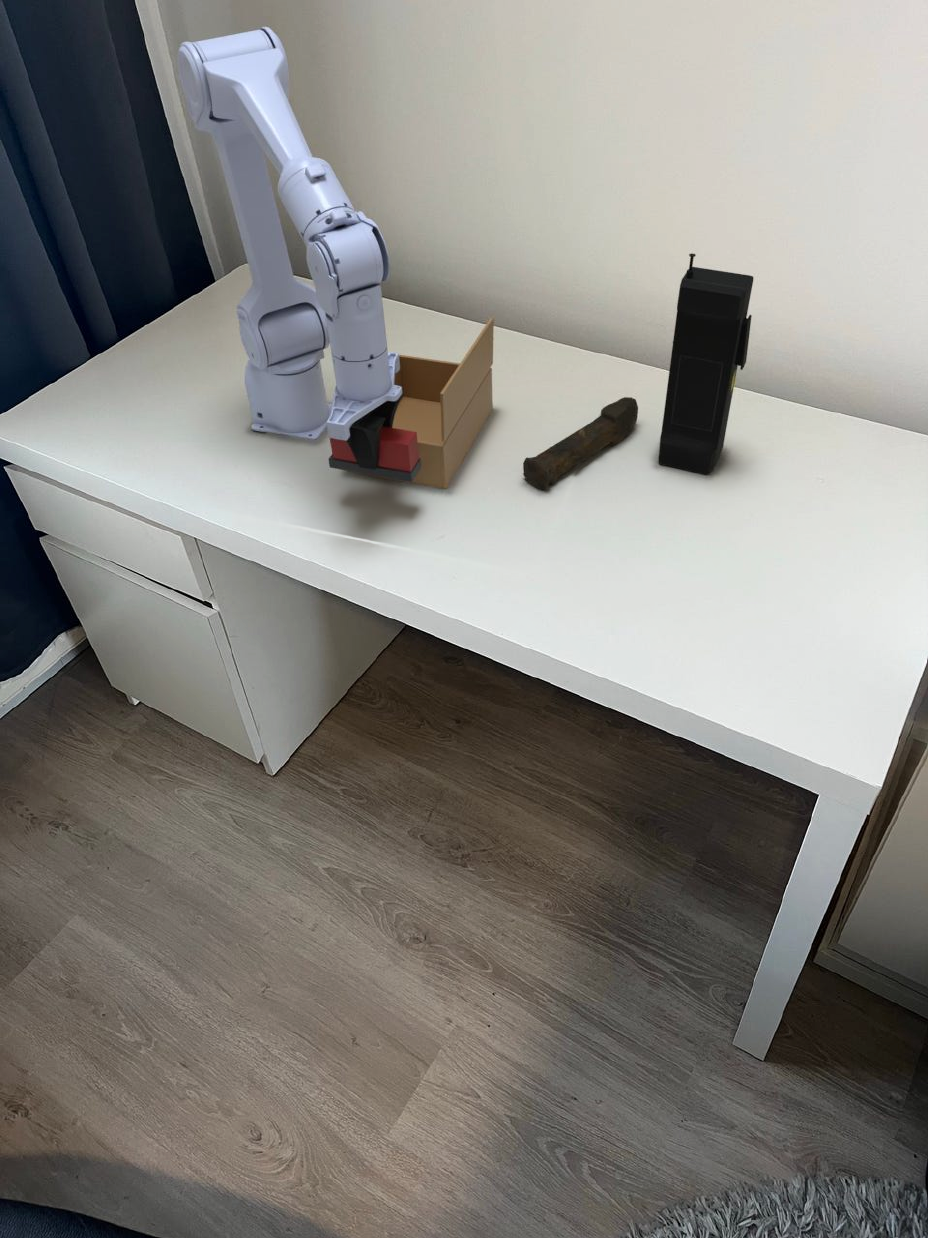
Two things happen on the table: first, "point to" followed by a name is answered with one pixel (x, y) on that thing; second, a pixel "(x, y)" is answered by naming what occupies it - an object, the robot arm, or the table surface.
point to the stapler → (383, 455)
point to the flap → (466, 379)
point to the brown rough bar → (582, 443)
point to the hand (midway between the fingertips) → (373, 458)
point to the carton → (437, 417)
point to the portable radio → (704, 366)
